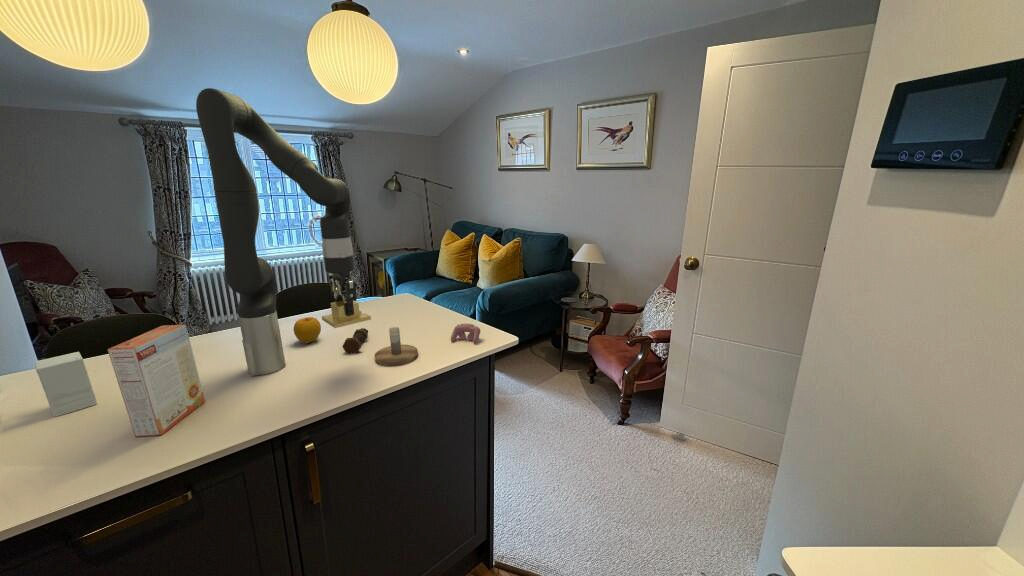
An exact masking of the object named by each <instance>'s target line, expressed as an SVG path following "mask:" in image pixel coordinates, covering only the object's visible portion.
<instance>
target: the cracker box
mask: <svg viewBox="0 0 1024 576" xmlns="http://www.w3.org/2000/svg"><path fill="white" fill-rule="evenodd" d="M107 352H108V355H109V356H108V357H109V359H110V362H111V365H112V368H113V371H114V374H115V378H116V381H117V384H118V388H119V390H120V394H121V396H122V399H123V404H124V406H125V409H126V413H127V415H128V418H129V422H130V425H131V427H132V430H133V434H134V437H135V438H136V437H138V438H139V437H152V436H153V437H154V436H162V435H164V434H165V433H166V432H168V431H169V430H171V429H172V428H173V427H174V426H175V425H177V424H178V423H179V422H180V421H182V420H183V419H185V418H186V417H187V416H188V415H190V414H191V413H192V412H194V411H195V410H196V409H197V408H199V407H201V405H203V404H204V403H205V402H206V399H205V398H206V397H205V394H204V391H203V388H202V383H201V378H200V376H199V370H198V367H197V363H196V360H195V355H194V353H193V347H192V343H191V340H190V335H189V333H188V328H187V325H186V324H174V325H173V324H166V325H160V326H158V327H155V328H154V329H152V330H149V331H147V332H144V333H142V334H140V335H138V336H135V337H132V338H131V339H129V340H125V341H124V342H121V343H119V344H117V345H115V346H112V347H109V348H107Z"/></svg>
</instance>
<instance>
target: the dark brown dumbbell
mask: <svg viewBox="0 0 1024 576" xmlns="http://www.w3.org/2000/svg"><path fill="white" fill-rule="evenodd" d="M368 337H369V330H368V329H366V328H363V327H362V328H358V329H355V331H354V332H353V334H352V337H347V338H346V339H345V340H344V342H343V345H342V348H343V350H344V353H346V354H351V355H352V354H357V353H359V351H360V349H361V347H362V343H364V342H365V341H366V340H367V339H368Z"/></svg>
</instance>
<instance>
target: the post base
mask: <svg viewBox="0 0 1024 576" xmlns="http://www.w3.org/2000/svg"><path fill="white" fill-rule="evenodd" d="M388 331H389V332H388V333H389V340H390V341H389V342H390V345H389V346H385V347H383V348H381V349H378V350H377V351H376V352H375V354H374V361H375V363H376V364H378V365H380V366H385V367H398V366H402V365H403V366H404V365H406V364H409V363H412V362H414V361H415V360H416V359H417V358H418V357H419V353H418V352H419V351H418V348H417V347H416V346H414V345H412V344H411V345H410V344H402V343H401V334H400V333H401V332H400V327H398V326H393V327H390V328H389V329H388Z"/></svg>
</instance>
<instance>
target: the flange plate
mask: <svg viewBox="0 0 1024 576" xmlns="http://www.w3.org/2000/svg"><path fill="white" fill-rule="evenodd" d="M353 307H354V315H351V316H346V314H345V307H344V301H338V302H336V301H334V302H330V309H331V314H326V315H322V316H321V321H324V322H325V323H326V324H328V325H329V326H331V327H332V328H334V329H336V328H341V327H346V326H349V325H354V324H359V323H363V322H367V321H369V320H372V316H371V315H369V314H368V313H363V312H362V310H360V306H359V302H357V300H356V301H354V302H353Z"/></svg>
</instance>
